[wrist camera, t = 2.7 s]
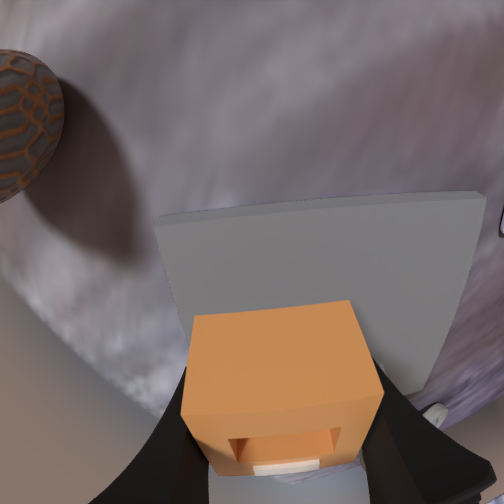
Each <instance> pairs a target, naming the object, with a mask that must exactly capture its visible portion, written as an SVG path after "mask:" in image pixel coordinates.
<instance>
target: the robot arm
mask: <svg viewBox="0 0 504 504" xmlns="http://www.w3.org/2000/svg"><path fill="white" fill-rule="evenodd" d="M501 232H502V233H503V234H504V214H503V219H502V223H501ZM370 355H371V354H370ZM371 357H372V355H371ZM372 360H373V363H374V365H375V368H376V371H377V374H378V376H379V379H380V382H381V385H382V388H383V390H384V395H383V398H382V400H381V403H380V405H379V407H378V410H377V412H376V415H375V417H374V419H373V422H372V424H371V426H370V429H369V431H368V433H367V435H366V437H365V440H364V442H363V444H362V446H361V448H362V452H363V456H364V461H365V467H366V473H367V480H368V486H369V495H370V504H479V501H480V500H481V495H480V492H482V491H484V490H485V489H487V488H488V487H489V486H491V485H493V484H494V483H495V482H496V480H497V478H496V475H495V473H494V470H493V467H492V466H491V464H490V462H489V461H487V460H486V459H484V458H482V457H480V456H478V455H476V454H474V453H472V452H471V451H469V450H468V449H466V448H464V447H463V446H461V445H460V444H458V443H457V442H455V441H454V440H452V439H451V438H450V437H448V436H447V435H446V434H444V433H443V432H442V431H440V430H439V429H438V428H437V427H435V426H434V425H433V424H432V423H431V422H430V421H428V420H427V419H426V418H425V417H424V416H423V415H422V414H421V413H420V412H419V411H418V410H417V409H416V408H415V407H414V406H413V405H412V404H411V403H410V402H409V401H408V400H407V399H406V398H405V397H404V396H403V394H402V393H401V392H400V391H399V390H398V389H397V387H396V386H395V385H394V384H393V383H392V382H391V380H390V379H389V378H388V377H387V375H386V374H385V373H384V372H383V370H382V369H381V368H380V366H379V365H378V364H377V362H376V361H375V360H374V358H373V357H372ZM186 370H187V366H186V367H185V370H184V372H183V375H182V377H181V379H180V382H179V384H178V386H177V388H176V390H175V393H174V395H173V397H172V399H171V401H170V403H169V404H168V406H167V408H166V410H165V412H164V414H163V416H162V418H161V419H160V421H159V423H158V424H157V426H156V428H155V429H154V431H153V433H152V434H151V436H150V437H149V439H148V440H147V442H146V443H145V444H144V446H143V447H142V449H141V450H140V452H139V453H138V454H137V455H136V456H135V458H134V459H133V460H132V461H131V463H130V464H129V465H128V466H127V467H126V469H125V470H124V471H123V472H122V473H121V474H120V475H119V476H118V477H117V478H116V479H115V480H114V481H113V482H112V483H111V484H110V485H109V486H108V487H107V488H106V489H105V490H104V491H103V492H102V493H100V494H99V495H98V496H97V497H96V498H94V499H93V500H92V501H91V502H90V503H88V504H209V493H208V469H209V461H208V460H207V458H206V456H205V455H204V453H203V452H202V450H201V448H200V447H199V445H198V443H197V442H196V440H195V439H194V437H193V435H192V433H191V432H190V430H189V428H188V427H187V425H186V423H185V421H184V420H183V418H182V416H181V407H182V399H183V392H184V384H185V377H186ZM486 504H504V493H502V494H501V495H499V496H498V497H496V498H495V499H493V500H491V501H489V502H487V503H486Z"/></svg>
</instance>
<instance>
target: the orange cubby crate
mask: <svg viewBox="0 0 504 504" xmlns="http://www.w3.org/2000/svg"><path fill="white" fill-rule="evenodd" d="M383 395H384V390H383V388H382V385H381V382H380V379H379V376H378V374H377V371H376V368H375V365H374V363H373V360H372V357H371V355H370V352H369V349H368V347H367V344H366V341H365V339H364V336H363V334H362V331H361V329H360V326H359V324H358V321H357V319H356V316H355V314H354V311H353V309H352V306H351V304H350V301H349V300H343V301H336V302H328V303H320V304H312V305H303V306H295V307H286V308H276V309H267V310H256V311H246V312H235V313H223V314H210V315H196V316H195V317H194V323H193V329H192V336H191V342H190V349H189V356H188V363H187V370H186V377H185V384H184V392H183V399H182V407H181V416H182V418H183V420H184V421H185V423H186V425H187V427H188V428H189V430H190V432H191V433H192V435H193V437H194V439H195V440H196V442H197V443H198V445H199V447H200V448H201V450H202V452H203V453H204V455H205V456H206V458H207V460H208V461H209V463H210V464H211V466H212V467H213V469H214V470H215V472H216V473H217V475H218V476H242V475H255V476H263V475H276V474H286V473H295V472H303V471H311V470H318V469H319V468H323V467H329V466H335V465H340V464H346V463H351V462H354V460H355V458H356V456H357V454H358V452H359V450H360V448H361V446H362V444H363V442H364V440H365V437H366V435H367V433H368V431H369V429H370V426H371V424H372V422H373V419H374V417H375V415H376V412H377V410H378V407H379V405H380V403H381V400H382V398H383Z"/></svg>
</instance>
